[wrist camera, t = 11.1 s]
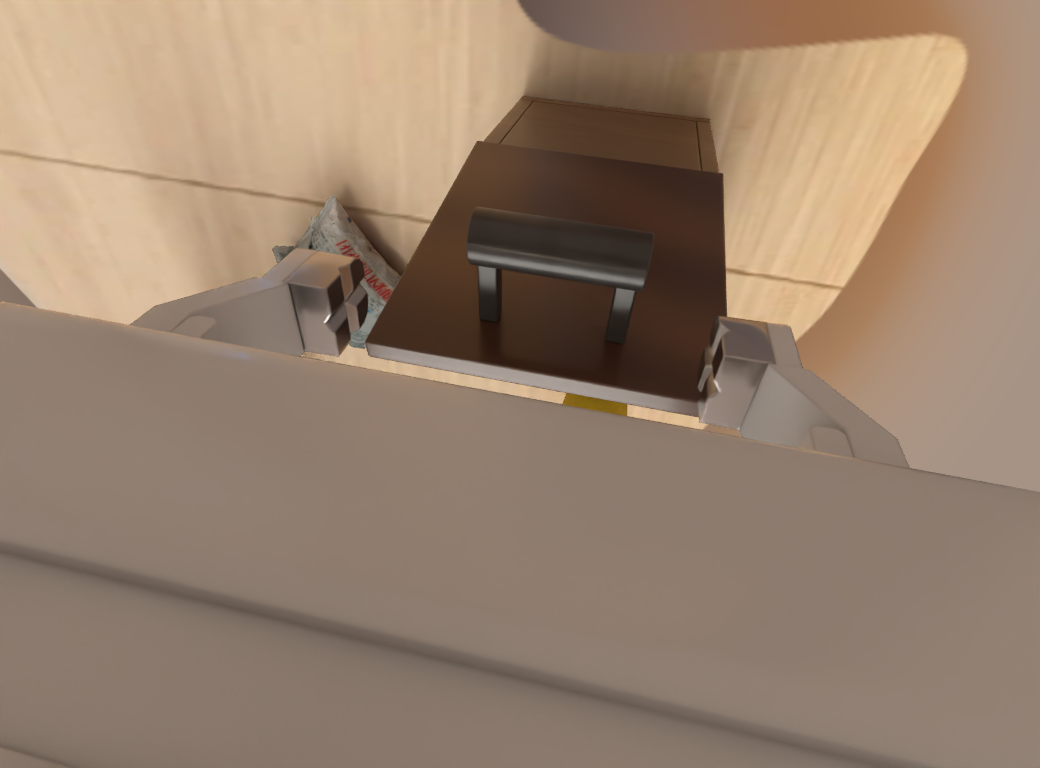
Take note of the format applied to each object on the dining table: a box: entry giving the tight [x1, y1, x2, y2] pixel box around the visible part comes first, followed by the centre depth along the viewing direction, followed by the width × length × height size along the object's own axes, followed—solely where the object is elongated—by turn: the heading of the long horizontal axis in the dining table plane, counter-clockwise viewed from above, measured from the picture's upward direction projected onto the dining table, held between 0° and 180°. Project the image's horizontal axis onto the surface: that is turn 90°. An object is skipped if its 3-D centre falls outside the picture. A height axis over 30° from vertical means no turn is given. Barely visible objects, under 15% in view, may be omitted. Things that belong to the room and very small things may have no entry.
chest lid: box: [365, 141, 727, 417], centre depth 22 cm, size 15×12×5 cm
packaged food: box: [272, 196, 401, 349], centre depth 47 cm, size 9×12×5 cm
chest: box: [483, 96, 719, 173], centre depth 37 cm, size 14×12×11 cm
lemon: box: [563, 393, 627, 416], centre depth 48 cm, size 6×6×8 cm
